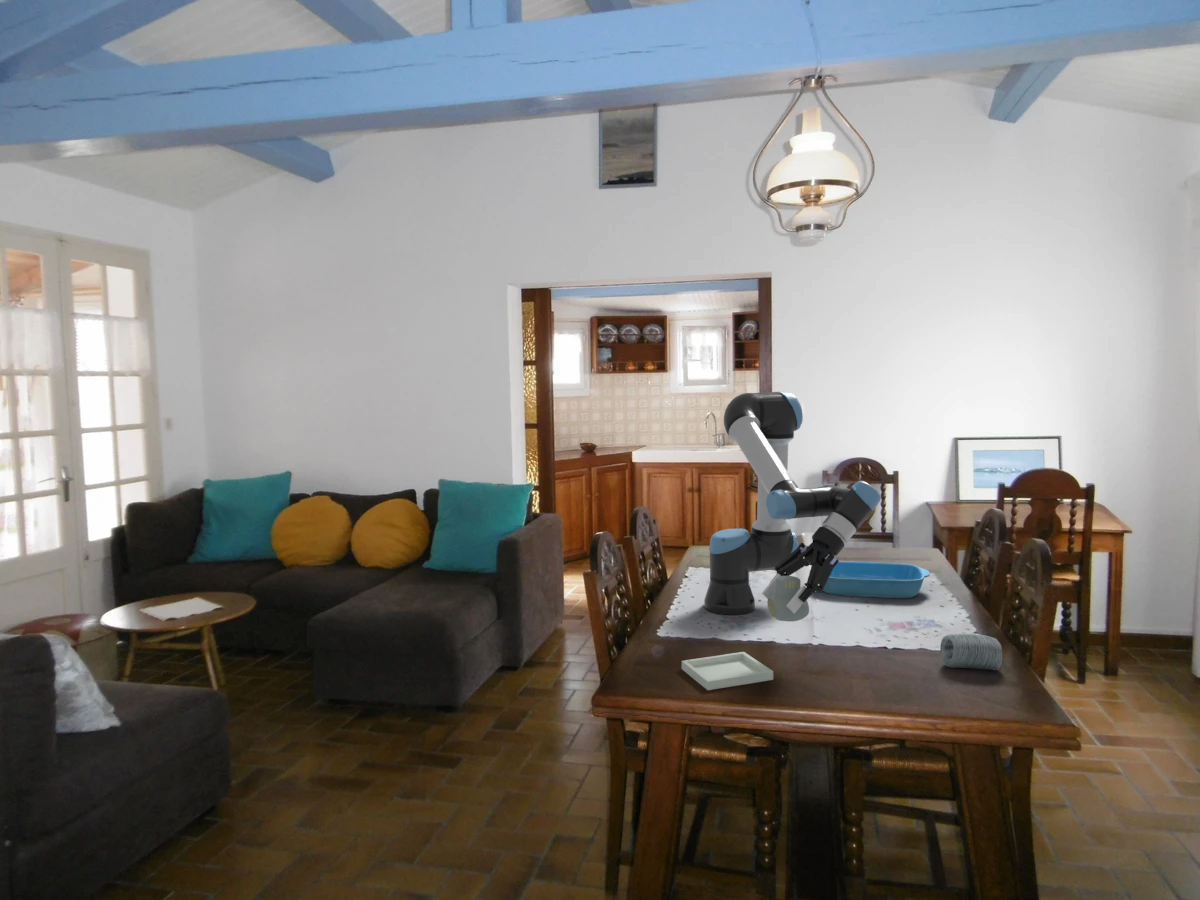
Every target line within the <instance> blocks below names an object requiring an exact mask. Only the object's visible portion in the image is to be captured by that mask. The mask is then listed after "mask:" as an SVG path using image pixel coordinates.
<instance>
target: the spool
mask: <svg viewBox="0 0 1200 900" xmlns="http://www.w3.org/2000/svg"><path fill="white" fill-rule="evenodd" d="M940 657H941V660H942V662H943V664H944V665H945V667H948V668H951V669H954V668H957V669H958V668H960V669H961V668H963V669H975V670H976V669H977V670H978V669H979V670H987V671H989V670H990V671H996V670H998V669H999V668H1000V666H1001V665H1002V661H1003V649H1002V645H1001V643H1000V642H999V641H998V639H997V638H995V637H992V636H988V635H984V634H978V633H977V634H976V633H958V634H957V633H955V634H954V633H952V634H951V633H949V634H946V635H944V636H943V637H942V639H941V642H940Z"/></svg>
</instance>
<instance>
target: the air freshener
mask: <svg viewBox="0 0 1200 900" xmlns="http://www.w3.org/2000/svg"><path fill="white" fill-rule="evenodd" d="M800 588H801V579H800V578H799V577H797V576H794V575H790V576H780V577H778V578H777V579H776V594H773V595H772V596H770V597H769V598H768V599H767V601H766V603H767V604H766V605H767V609H768V612H769V615H770V616H771V617H772V618H774V619H775V620H777V621H780V622H781V621H783V622H797V621H800V620H803V619H804V618H806V617H808V615H809V614H810V606H809V603H808V599H807V600H806V601H805V602H804V603H803V604H802V605H801V606H800V608H799V609H798V610H797V611H796V613H795V614H794V613H793V612H792V611H791V610H790V609H789V608H788V607H787V606H786V605H787V604H788V603H789V602H790V600H791V599H792V598H793V597H794V596H795V594H796V593H797V592H798V591H799V589H800Z"/></svg>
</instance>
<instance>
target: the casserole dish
mask: <svg viewBox="0 0 1200 900" xmlns="http://www.w3.org/2000/svg"><path fill="white" fill-rule="evenodd" d="M930 575H931V573H930V571H929V570H928V569H925V568H922V567H920V566H918V565H915V564H911V563H901V562H900V563H899V562H878V561H877V562H875V561H852V560H850V561H849V560H839V562H838V563H837V564H836V566H835V567H834V568H833V570H832V572H831V574H830V576H829V578H828V580H827V582H826V584H825V586H824V588H823V590H822V591H823V592H824V593H827V594H829V595H836V596H843V597H845V596H847V597H862V598H864V597H865V598H881V599H882V598H883V599H886V598H887V599H911V598H913V597H915V596H916V595H918V594H919V592H920V591H921V588H922V585H923V583H924V579H925V578H928V577H930Z"/></svg>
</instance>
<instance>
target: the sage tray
mask: <svg viewBox="0 0 1200 900" xmlns="http://www.w3.org/2000/svg"><path fill="white" fill-rule="evenodd" d="M681 670H682V671H683V672H685V673H686V674H687V675H689V676H690V677H691V678H692V679H693V680H694V681H696V682H697V683H698V684H699V685H700V686H702V687H703V688H704V689H705V690H706V691H712V690H717V689H723V688H730V687H736V686H742V685H743V686H744V685H749V684H755V683H761V682H767V681H774V670H772V669H771V668H769V667H767V665H765V664H763V663H761V662H760V661H759V660H757V659H756V658H754V657H752V656H751V655H750V654H748V653H746V652H745V651H739V652H732V653H725V654H720V655H719V654H718V655H711V656H706V657H699V658H692V659H686V660H681Z"/></svg>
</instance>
